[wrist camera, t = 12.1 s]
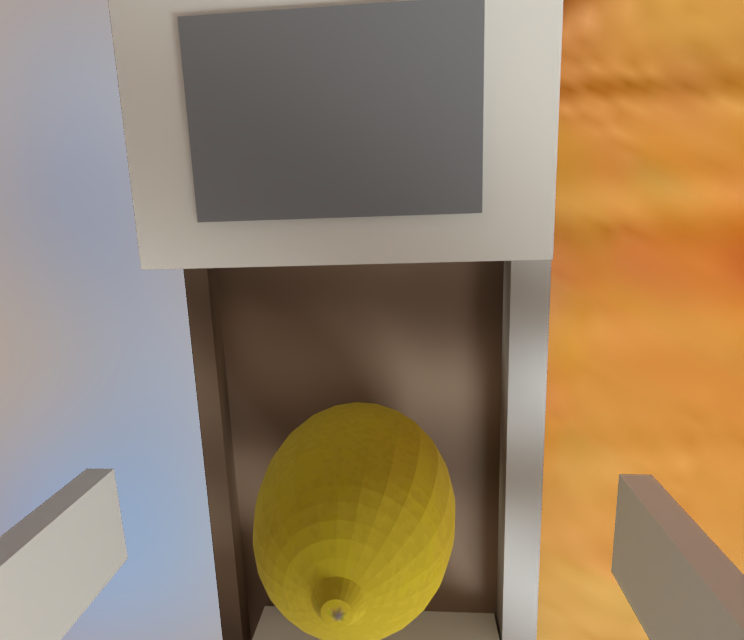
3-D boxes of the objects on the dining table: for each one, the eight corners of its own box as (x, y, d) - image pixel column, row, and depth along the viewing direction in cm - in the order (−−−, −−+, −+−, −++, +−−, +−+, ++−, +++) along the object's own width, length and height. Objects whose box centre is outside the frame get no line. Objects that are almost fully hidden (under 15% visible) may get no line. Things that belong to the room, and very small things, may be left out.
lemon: (427, 525, 18) (440, 751, 11) (283, 494, 19) (191, 694, 11) (460, 387, 17) (502, 526, 9) (306, 356, 17) (221, 467, 10)
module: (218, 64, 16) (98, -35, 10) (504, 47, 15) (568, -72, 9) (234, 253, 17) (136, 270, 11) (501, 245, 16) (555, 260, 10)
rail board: (190, 49, 17) (150, 17, 14) (543, 27, 16) (569, -11, 13) (253, 711, 23) (233, 777, 20) (520, 725, 22) (535, 795, 19)
